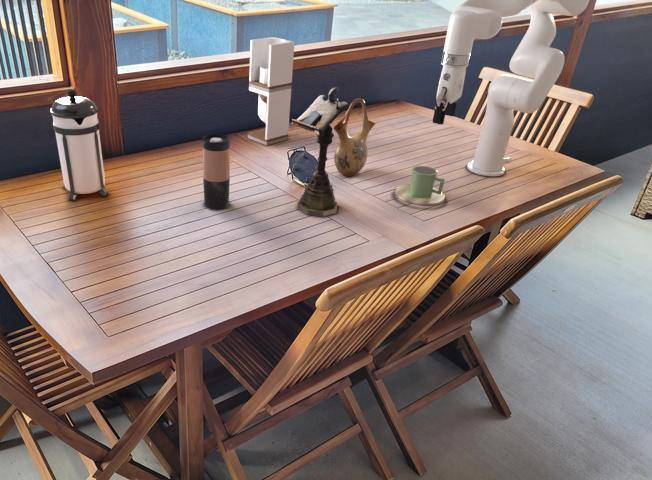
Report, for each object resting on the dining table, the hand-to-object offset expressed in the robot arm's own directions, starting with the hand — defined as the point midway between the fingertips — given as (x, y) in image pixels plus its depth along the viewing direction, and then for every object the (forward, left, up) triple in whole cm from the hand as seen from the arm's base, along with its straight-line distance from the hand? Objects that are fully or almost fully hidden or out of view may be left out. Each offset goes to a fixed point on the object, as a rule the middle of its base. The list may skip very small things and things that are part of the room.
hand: (443, 119), depth 172 cm
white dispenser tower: (+28, -62, -23) cm, 71 cm away
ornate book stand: (+44, +1, -23) cm, 49 cm away
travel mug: (+69, -13, -23) cm, 74 cm away
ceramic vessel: (+18, -20, -23) cm, 35 cm away
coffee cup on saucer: (+8, +5, -21) cm, 23 cm away
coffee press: (+103, -37, -23) cm, 112 cm away
